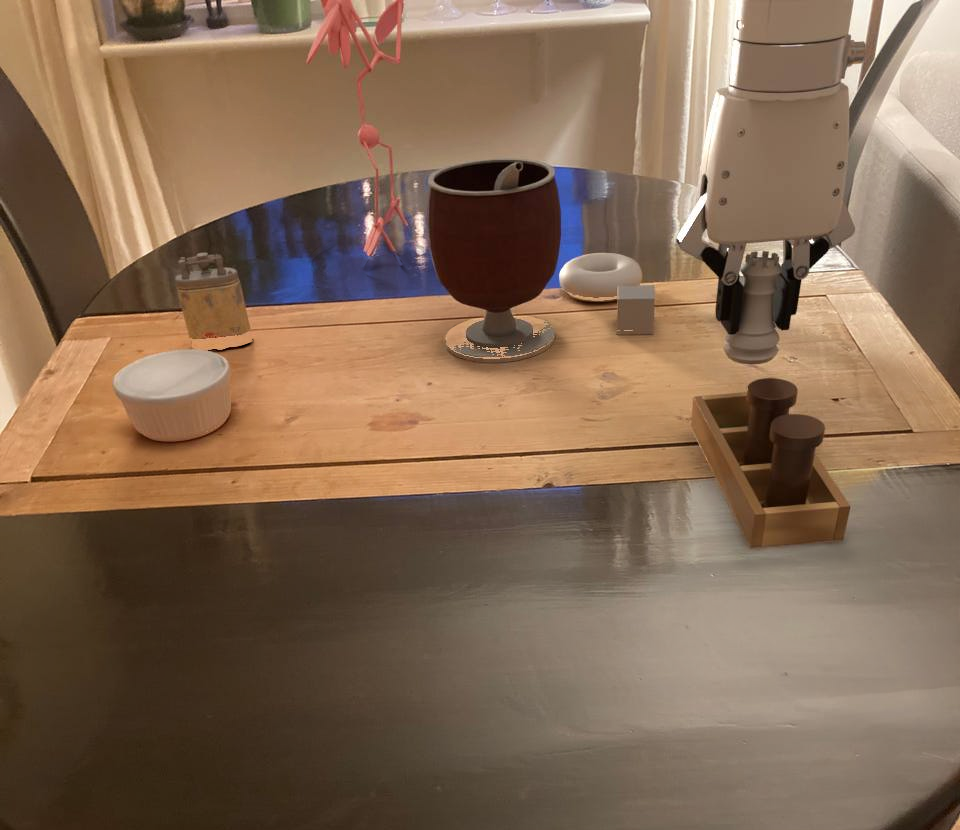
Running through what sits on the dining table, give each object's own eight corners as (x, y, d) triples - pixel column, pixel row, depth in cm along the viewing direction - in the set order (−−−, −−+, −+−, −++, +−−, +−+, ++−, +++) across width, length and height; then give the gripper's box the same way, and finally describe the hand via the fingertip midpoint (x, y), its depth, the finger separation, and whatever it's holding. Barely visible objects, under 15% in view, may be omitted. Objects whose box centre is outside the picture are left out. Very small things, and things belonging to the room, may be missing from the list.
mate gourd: (423, 329, 110) (403, 138, 97) (536, 308, 113) (531, 120, 100) (463, 381, 99) (446, 173, 86) (587, 356, 101) (589, 151, 89)
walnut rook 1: (776, 464, 81) (790, 375, 76) (791, 488, 78) (806, 397, 73) (729, 468, 81) (740, 379, 76) (742, 492, 78) (754, 401, 73)
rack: (766, 426, 87) (772, 389, 85) (842, 546, 72) (851, 505, 70) (689, 432, 87) (693, 396, 85) (749, 554, 72) (754, 514, 70)
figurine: (435, 224, 141) (409, -71, 118) (394, 287, 121) (354, -51, 99) (335, 225, 143) (292, -63, 121) (280, 288, 124) (215, -42, 101)
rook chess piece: (765, 341, 81) (778, 244, 76) (787, 362, 78) (802, 262, 73) (714, 347, 81) (724, 250, 76) (734, 369, 77) (746, 269, 72)
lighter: (254, 335, 112) (235, 247, 106) (253, 348, 109) (233, 258, 103) (193, 342, 112) (170, 255, 105) (190, 355, 109) (166, 266, 102)
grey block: (652, 320, 108) (654, 284, 105) (653, 334, 105) (655, 298, 102) (616, 321, 109) (617, 285, 106) (616, 334, 105) (617, 299, 103)
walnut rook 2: (799, 502, 76) (816, 411, 71) (816, 530, 73) (834, 436, 68) (750, 507, 76) (762, 415, 71) (764, 534, 73) (778, 441, 68)
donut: (639, 307, 111) (643, 275, 119) (640, 278, 109) (645, 247, 117) (554, 307, 113) (563, 276, 121) (554, 278, 111) (563, 248, 118)
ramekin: (233, 443, 91) (219, 391, 88) (116, 453, 91) (99, 402, 88) (247, 392, 100) (235, 343, 97) (140, 401, 100) (125, 353, 97)
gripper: (884, 48, 69) (838, 301, 81) (656, 67, 69) (644, 317, 80) (927, 66, 63) (871, 335, 75) (679, 87, 63) (662, 353, 75)
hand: (754, 323), depth 77 cm, fingers closed on rook chess piece, 3 cm apart
